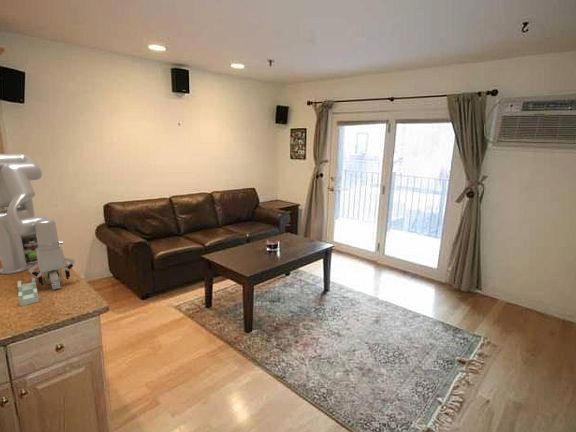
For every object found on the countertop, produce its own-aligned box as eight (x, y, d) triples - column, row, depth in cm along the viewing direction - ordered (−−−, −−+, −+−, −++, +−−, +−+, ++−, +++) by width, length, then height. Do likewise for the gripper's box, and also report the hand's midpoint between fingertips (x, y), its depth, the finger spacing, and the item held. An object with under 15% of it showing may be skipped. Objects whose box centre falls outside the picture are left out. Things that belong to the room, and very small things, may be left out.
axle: (48, 272, 158) (47, 266, 157) (55, 270, 160) (55, 265, 159) (52, 289, 147) (51, 284, 146) (60, 287, 149) (59, 282, 148)
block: (44, 277, 161) (42, 262, 159) (59, 273, 165) (57, 259, 163) (46, 284, 153) (43, 269, 151) (62, 280, 157) (59, 266, 155)
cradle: (19, 290, 147) (17, 281, 146) (36, 286, 151) (34, 277, 150) (20, 306, 134) (18, 296, 133) (39, 301, 138) (37, 291, 137)
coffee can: (47, 260, 182) (43, 235, 178) (23, 265, 174) (19, 240, 171) (42, 255, 188) (38, 231, 185) (20, 260, 181) (15, 235, 177)
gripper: (70, 240, 154) (75, 273, 159) (24, 247, 144) (31, 283, 148) (72, 244, 149) (78, 279, 153) (24, 252, 138) (32, 289, 142)
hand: (55, 281), depth 150 cm, fingers open, 9 cm apart
